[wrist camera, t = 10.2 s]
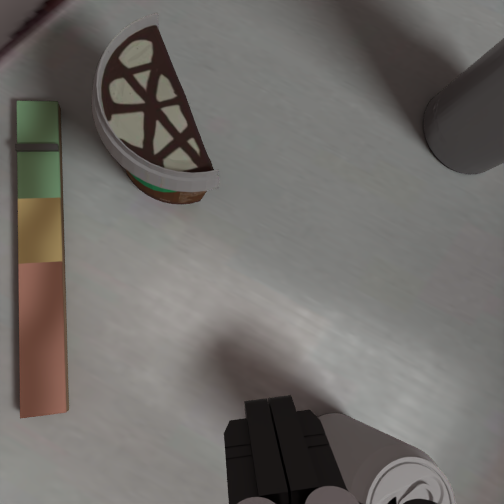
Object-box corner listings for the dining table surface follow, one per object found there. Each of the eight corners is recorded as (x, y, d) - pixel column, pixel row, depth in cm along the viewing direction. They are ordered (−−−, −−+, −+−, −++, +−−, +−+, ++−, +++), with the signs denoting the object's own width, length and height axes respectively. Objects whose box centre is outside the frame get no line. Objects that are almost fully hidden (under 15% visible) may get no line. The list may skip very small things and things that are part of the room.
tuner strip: (60, 108, 36) (56, 99, 34) (68, 409, 32) (64, 413, 31) (21, 107, 35) (15, 98, 34) (24, 415, 31) (18, 419, 30)
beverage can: (277, 444, 35) (336, 503, 23) (337, 394, 36) (420, 426, 25) (323, 511, 35) (404, 604, 23) (380, 458, 36) (484, 519, 25)
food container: (85, 104, 36) (58, 24, 27) (156, 87, 38) (154, 5, 28) (135, 240, 35) (126, 208, 25) (206, 217, 37) (222, 177, 27)
